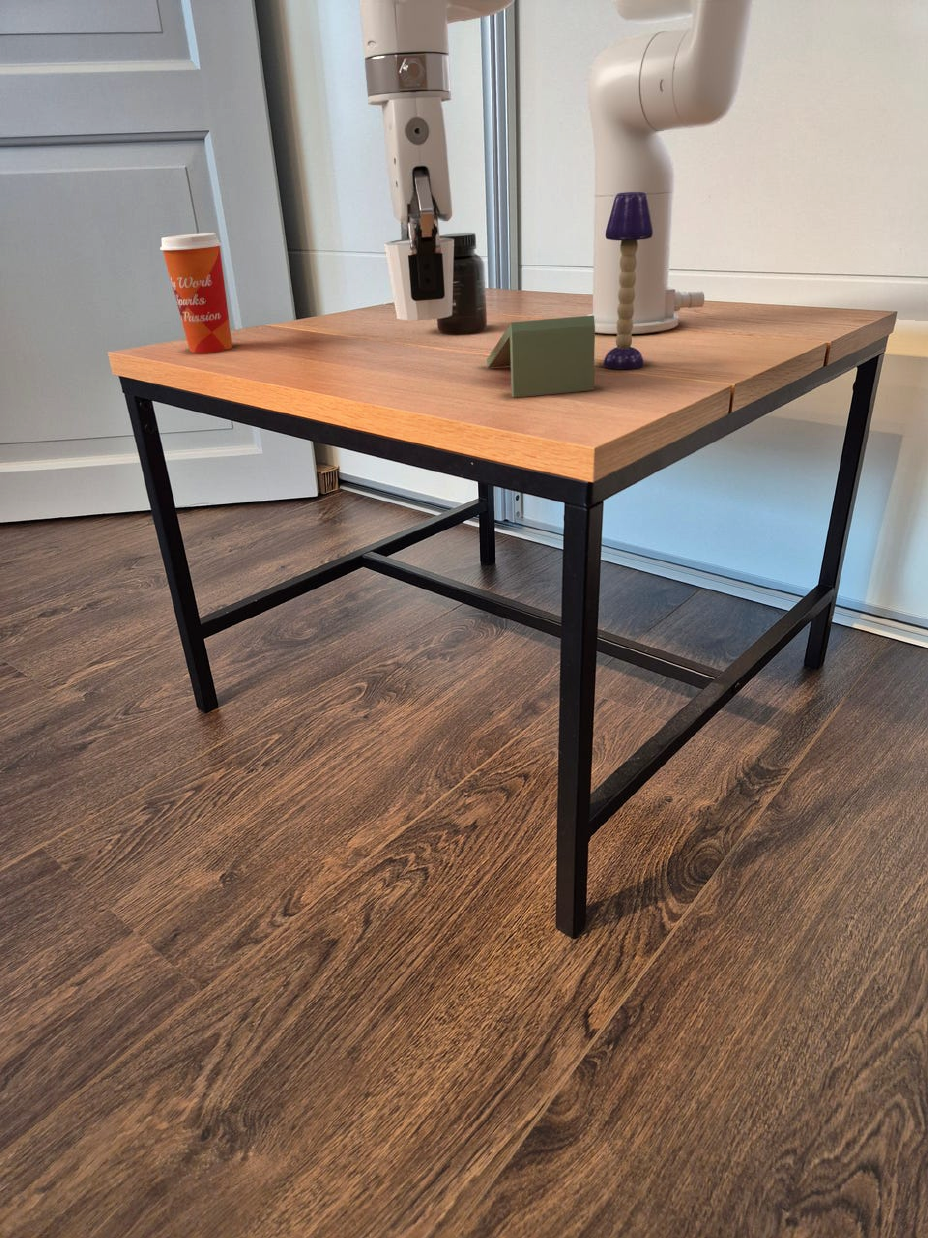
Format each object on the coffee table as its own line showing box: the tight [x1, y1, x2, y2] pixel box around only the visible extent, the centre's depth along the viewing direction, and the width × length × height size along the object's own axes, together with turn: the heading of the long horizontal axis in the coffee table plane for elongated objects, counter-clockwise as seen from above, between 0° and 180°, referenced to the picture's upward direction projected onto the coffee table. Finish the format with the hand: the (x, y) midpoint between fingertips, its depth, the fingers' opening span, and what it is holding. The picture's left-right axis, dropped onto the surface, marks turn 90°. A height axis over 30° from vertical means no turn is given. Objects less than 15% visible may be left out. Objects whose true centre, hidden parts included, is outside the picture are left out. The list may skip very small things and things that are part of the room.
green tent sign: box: [486, 315, 596, 399], centre depth 85 cm, size 14×8×7 cm, turn 9°
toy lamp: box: [603, 192, 653, 370], centre depth 86 cm, size 5×5×17 cm
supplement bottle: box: [436, 232, 488, 335], centre depth 112 cm, size 7×7×12 cm
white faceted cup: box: [383, 237, 454, 322], centre depth 83 cm, size 7×7×7 cm
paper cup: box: [159, 232, 233, 354], centre depth 109 cm, size 8×8×14 cm
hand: (423, 292), depth 83 cm, fingers closed on white faceted cup, 6 cm apart
